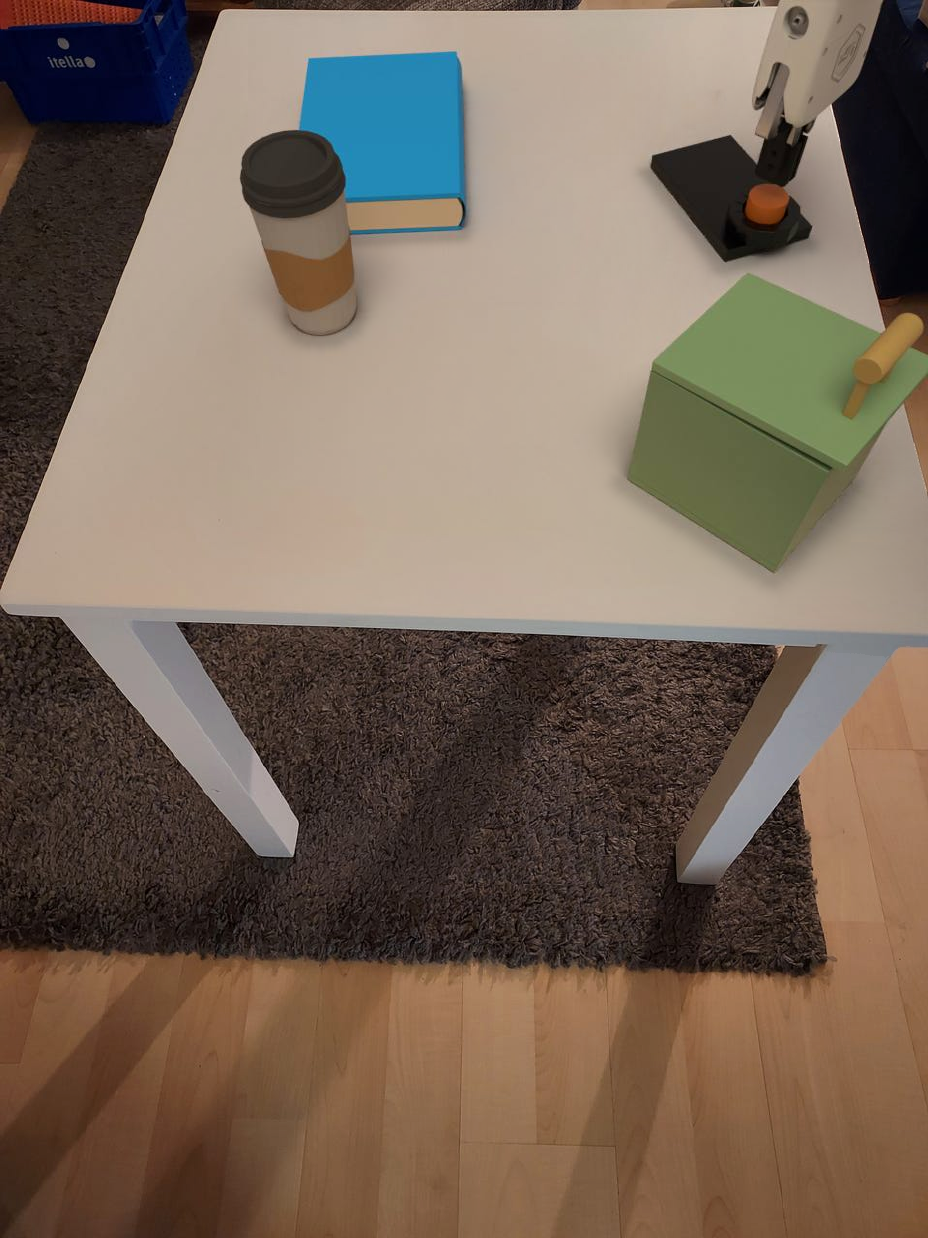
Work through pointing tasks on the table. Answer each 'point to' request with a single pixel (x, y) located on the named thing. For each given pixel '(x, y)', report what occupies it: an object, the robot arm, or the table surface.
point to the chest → (732, 473)
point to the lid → (798, 368)
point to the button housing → (725, 197)
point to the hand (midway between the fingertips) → (774, 176)
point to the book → (393, 137)
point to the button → (766, 204)
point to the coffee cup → (303, 226)
